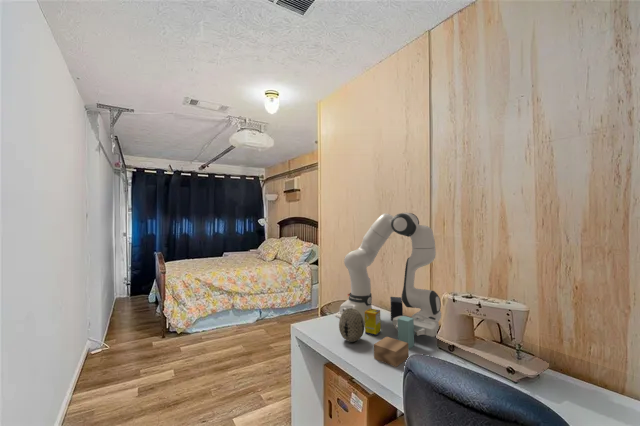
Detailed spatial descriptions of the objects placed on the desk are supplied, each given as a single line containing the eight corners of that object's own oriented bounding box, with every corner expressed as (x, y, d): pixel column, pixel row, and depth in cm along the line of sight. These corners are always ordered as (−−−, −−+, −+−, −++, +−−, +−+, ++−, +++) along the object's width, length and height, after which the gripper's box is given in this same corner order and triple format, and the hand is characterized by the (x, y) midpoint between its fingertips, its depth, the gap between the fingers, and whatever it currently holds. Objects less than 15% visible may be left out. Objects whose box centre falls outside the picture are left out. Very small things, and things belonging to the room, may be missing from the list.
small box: (403, 321, 157) (402, 302, 157) (391, 321, 159) (390, 301, 159) (401, 315, 168) (401, 296, 168) (390, 314, 169) (389, 296, 169)
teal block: (398, 345, 129) (397, 318, 129) (403, 342, 132) (403, 315, 132) (408, 349, 125) (407, 321, 125) (414, 345, 129) (413, 318, 129)
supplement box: (370, 329, 148) (369, 308, 148) (381, 332, 144) (380, 309, 144) (364, 333, 143) (364, 311, 143) (376, 336, 139) (375, 313, 139)
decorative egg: (368, 338, 137) (367, 306, 137) (358, 348, 127) (357, 314, 127) (346, 333, 143) (345, 303, 143) (334, 342, 133) (334, 310, 133)
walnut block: (374, 359, 118) (373, 344, 118) (387, 350, 125) (386, 336, 125) (396, 367, 111) (395, 351, 111) (408, 357, 118) (408, 343, 118)
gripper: (400, 310, 146) (385, 317, 136) (441, 320, 132) (428, 329, 122) (401, 323, 146) (386, 331, 136) (442, 334, 132) (428, 344, 122)
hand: (406, 330), depth 129 cm, fingers open, 8 cm apart
